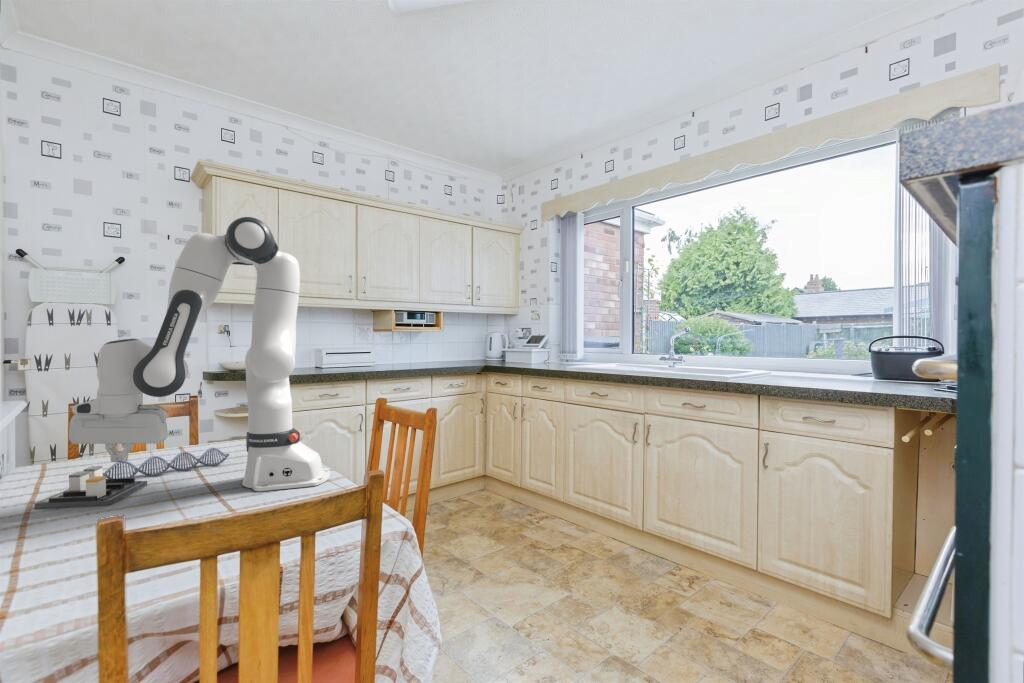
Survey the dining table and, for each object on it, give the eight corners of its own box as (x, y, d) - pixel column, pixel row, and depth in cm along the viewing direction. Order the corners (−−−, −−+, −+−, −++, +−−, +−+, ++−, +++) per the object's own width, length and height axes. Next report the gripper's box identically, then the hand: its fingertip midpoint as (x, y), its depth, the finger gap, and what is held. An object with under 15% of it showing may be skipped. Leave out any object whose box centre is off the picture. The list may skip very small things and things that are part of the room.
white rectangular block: (89, 489, 124) (88, 471, 124) (80, 493, 121) (80, 474, 121) (78, 489, 124) (77, 471, 124) (69, 493, 121) (68, 475, 121)
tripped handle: (106, 494, 120) (105, 476, 120) (97, 498, 117) (97, 479, 117) (94, 494, 120) (94, 476, 120) (86, 499, 117) (85, 480, 117)
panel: (147, 485, 132) (147, 477, 132) (109, 505, 117) (109, 496, 117) (81, 487, 130) (81, 479, 130) (34, 508, 115) (34, 499, 115)
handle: (102, 483, 129) (102, 465, 129) (94, 486, 126) (94, 469, 126) (92, 483, 129) (91, 466, 129) (84, 487, 126) (83, 469, 126)
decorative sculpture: (230, 465, 152) (229, 446, 151) (100, 488, 130) (99, 466, 130) (225, 461, 156) (224, 443, 156) (98, 483, 134) (98, 462, 134)
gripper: (173, 403, 123) (172, 457, 124) (84, 402, 121) (83, 458, 121) (159, 407, 117) (158, 464, 117) (64, 406, 114) (63, 465, 115)
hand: (119, 461), depth 119 cm, fingers closed
